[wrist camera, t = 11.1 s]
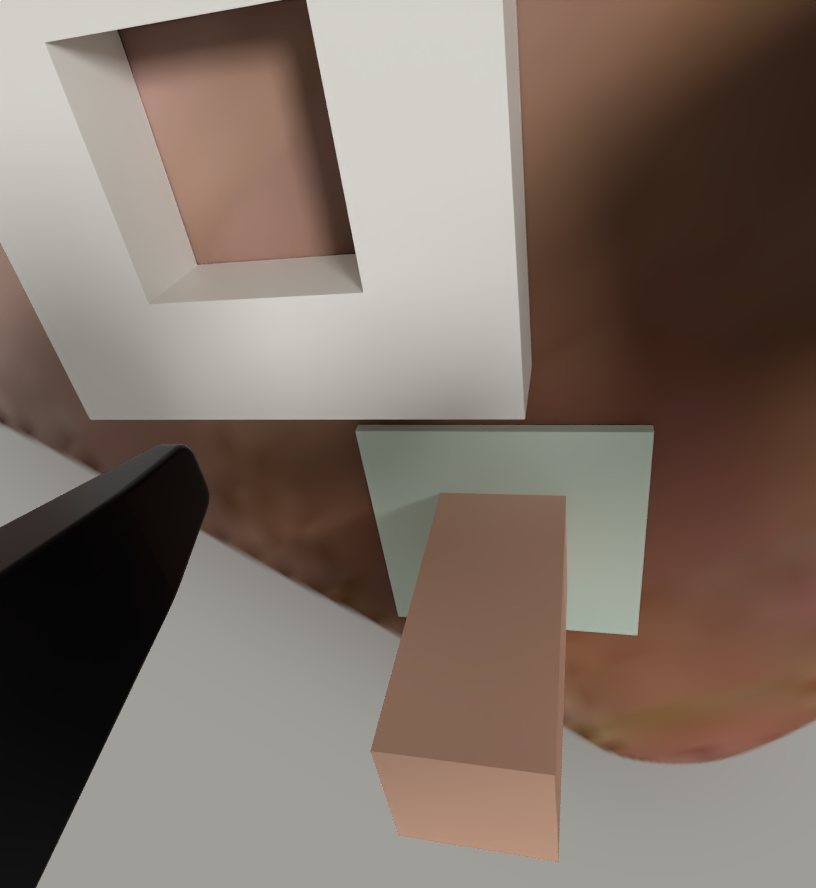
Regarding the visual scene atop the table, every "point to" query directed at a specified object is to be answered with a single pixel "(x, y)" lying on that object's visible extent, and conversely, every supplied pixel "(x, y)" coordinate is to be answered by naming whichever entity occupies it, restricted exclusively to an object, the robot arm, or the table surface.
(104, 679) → the robot arm
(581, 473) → the mat
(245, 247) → the table surface
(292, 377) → the dock
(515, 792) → the peg
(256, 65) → the table surface
